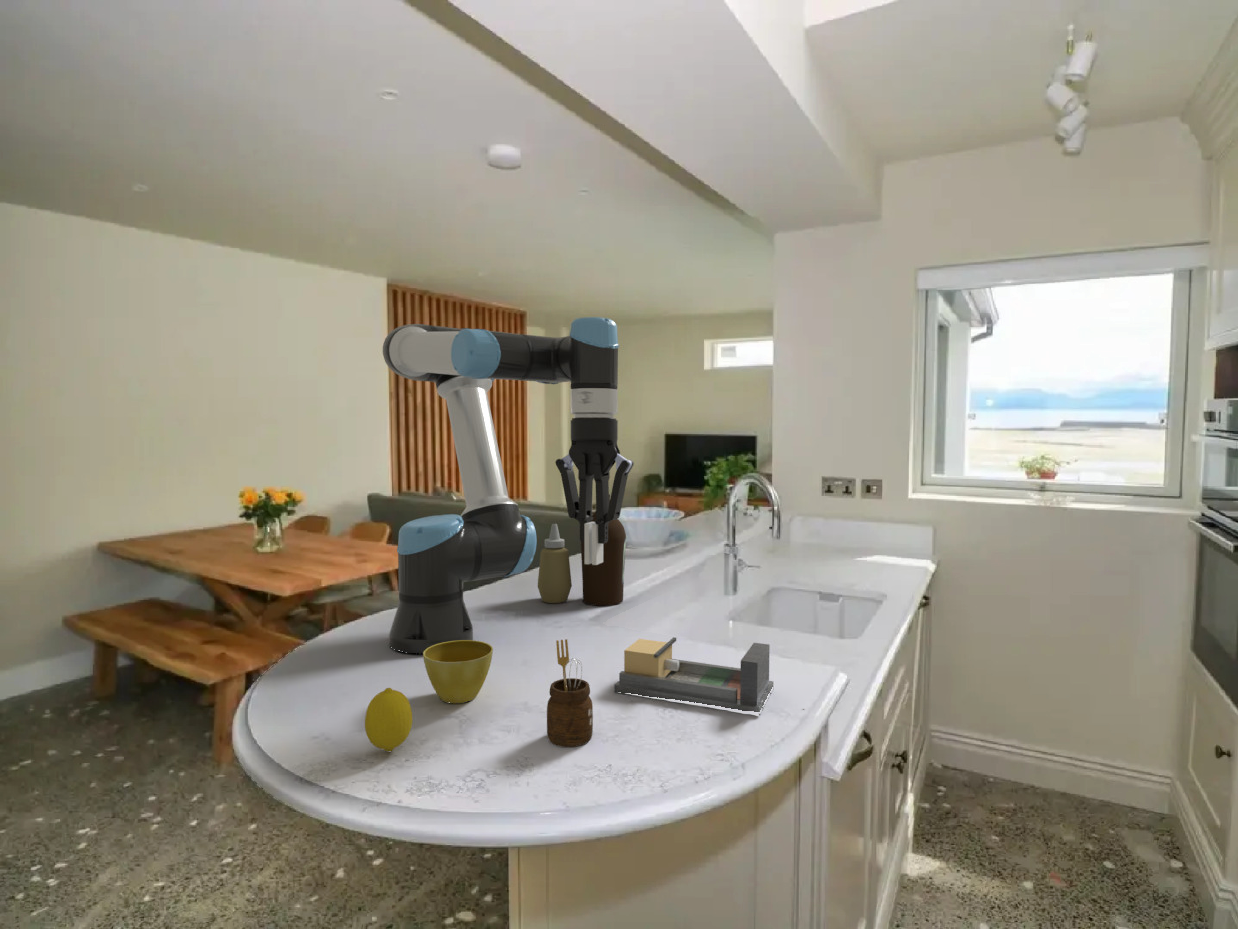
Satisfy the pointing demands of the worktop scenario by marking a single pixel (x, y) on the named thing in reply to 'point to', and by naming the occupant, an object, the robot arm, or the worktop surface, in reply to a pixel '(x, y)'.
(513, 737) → the worktop surface
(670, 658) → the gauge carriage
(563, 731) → the utensil holder
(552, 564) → the squeeze bottle
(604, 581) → the olive oil
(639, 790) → the worktop surface
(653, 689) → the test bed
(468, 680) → the yellow bowl
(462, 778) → the worktop surface
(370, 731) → the lemon
